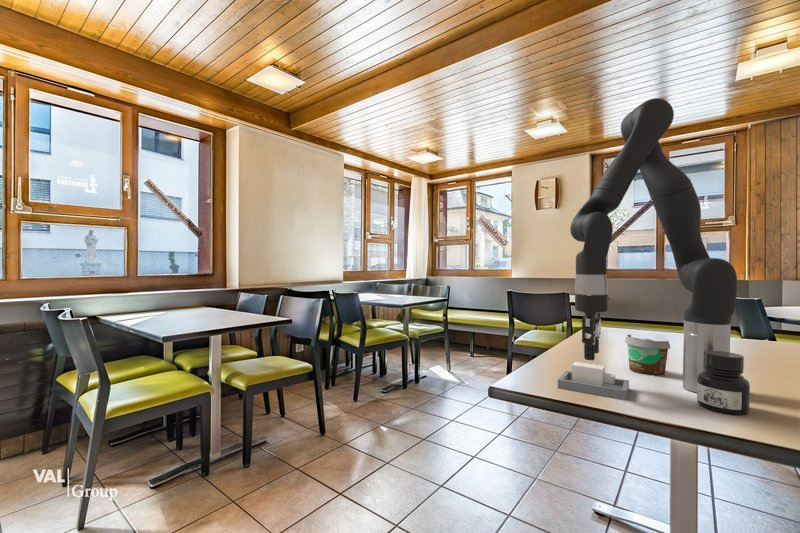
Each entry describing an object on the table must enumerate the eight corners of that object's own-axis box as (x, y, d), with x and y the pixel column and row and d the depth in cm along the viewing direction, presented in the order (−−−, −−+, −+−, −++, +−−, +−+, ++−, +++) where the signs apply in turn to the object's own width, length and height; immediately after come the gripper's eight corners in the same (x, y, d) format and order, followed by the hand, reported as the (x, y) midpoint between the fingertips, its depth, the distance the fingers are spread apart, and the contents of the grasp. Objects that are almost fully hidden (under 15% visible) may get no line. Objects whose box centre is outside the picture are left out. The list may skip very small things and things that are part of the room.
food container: (615, 368, 118) (615, 335, 118) (628, 366, 121) (628, 333, 121) (656, 379, 107) (657, 343, 107) (670, 376, 110) (670, 341, 110)
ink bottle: (686, 403, 89) (687, 350, 88) (709, 398, 92) (710, 347, 92) (737, 419, 80) (738, 360, 80) (760, 412, 83) (761, 357, 83)
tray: (628, 388, 98) (629, 380, 98) (625, 400, 90) (626, 391, 90) (565, 378, 107) (565, 370, 107) (557, 387, 99) (557, 379, 99)
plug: (574, 380, 103) (575, 361, 103) (615, 387, 97) (615, 367, 97) (571, 384, 100) (572, 365, 99) (613, 391, 94) (613, 371, 94)
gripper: (579, 290, 106) (580, 349, 107) (570, 293, 95) (570, 360, 95) (610, 290, 102) (611, 352, 102) (604, 294, 90) (605, 364, 90)
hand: (591, 356), depth 99 cm, fingers open, 8 cm apart
